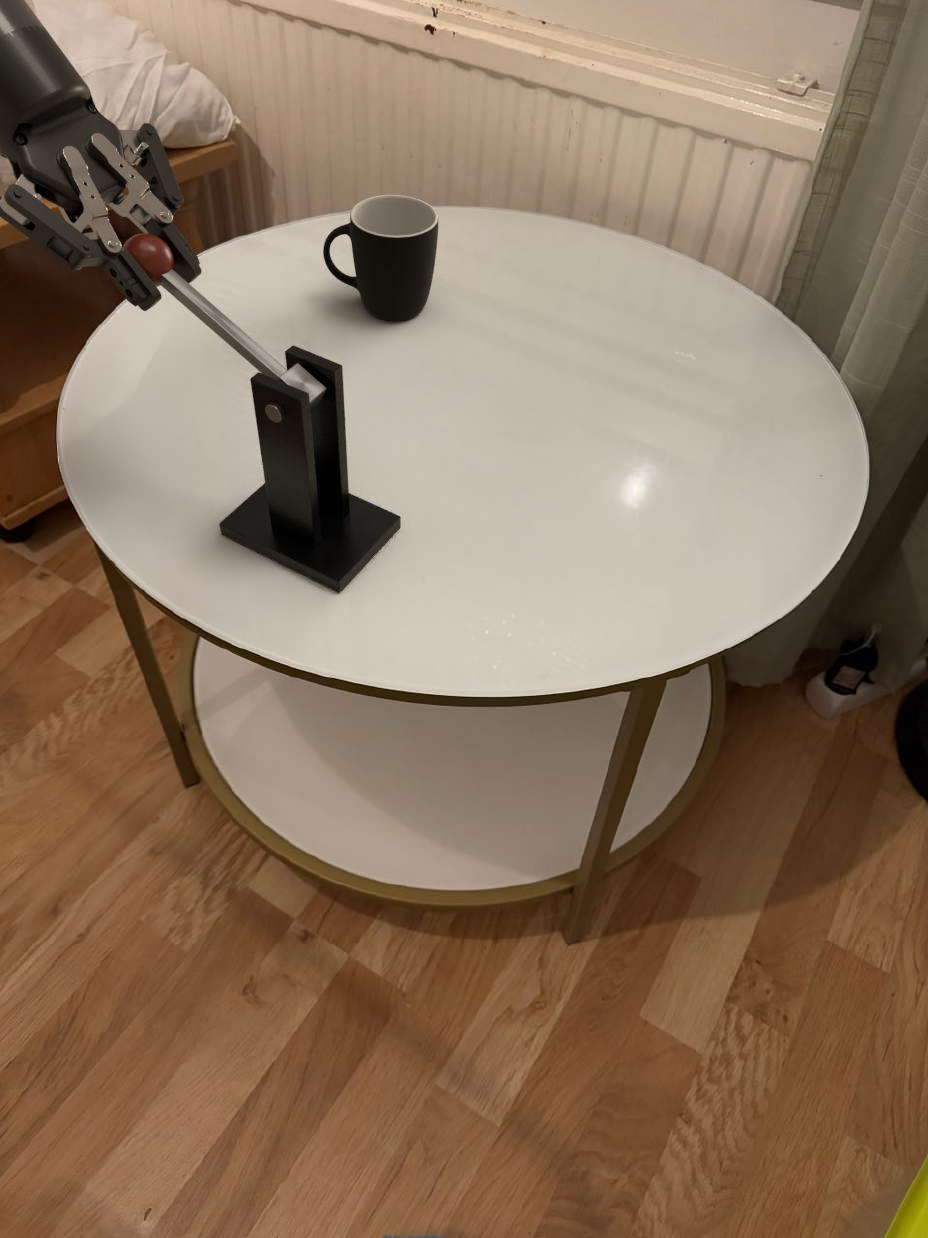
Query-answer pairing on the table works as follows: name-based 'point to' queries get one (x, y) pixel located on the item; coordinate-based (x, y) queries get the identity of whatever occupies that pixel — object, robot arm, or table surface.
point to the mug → (390, 254)
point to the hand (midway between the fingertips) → (173, 290)
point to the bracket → (307, 483)
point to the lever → (216, 315)
